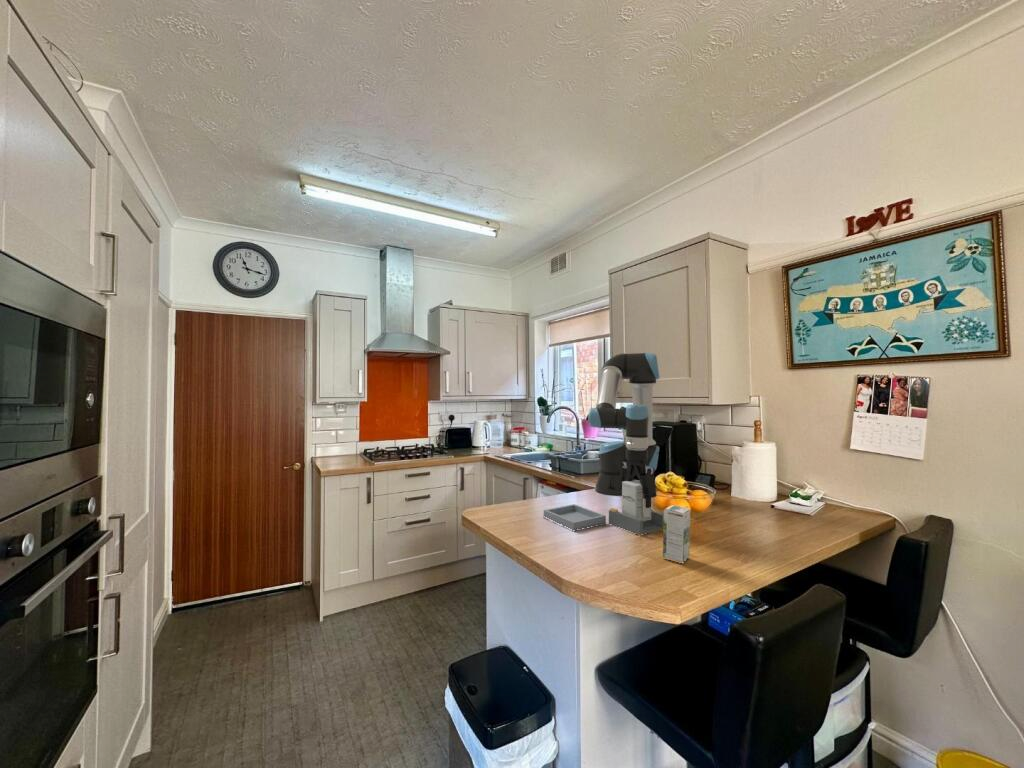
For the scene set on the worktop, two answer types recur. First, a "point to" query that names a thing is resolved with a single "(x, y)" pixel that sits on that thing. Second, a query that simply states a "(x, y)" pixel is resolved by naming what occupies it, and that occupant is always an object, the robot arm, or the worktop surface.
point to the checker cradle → (636, 522)
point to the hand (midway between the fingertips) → (636, 513)
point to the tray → (575, 516)
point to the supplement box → (633, 499)
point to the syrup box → (676, 533)
